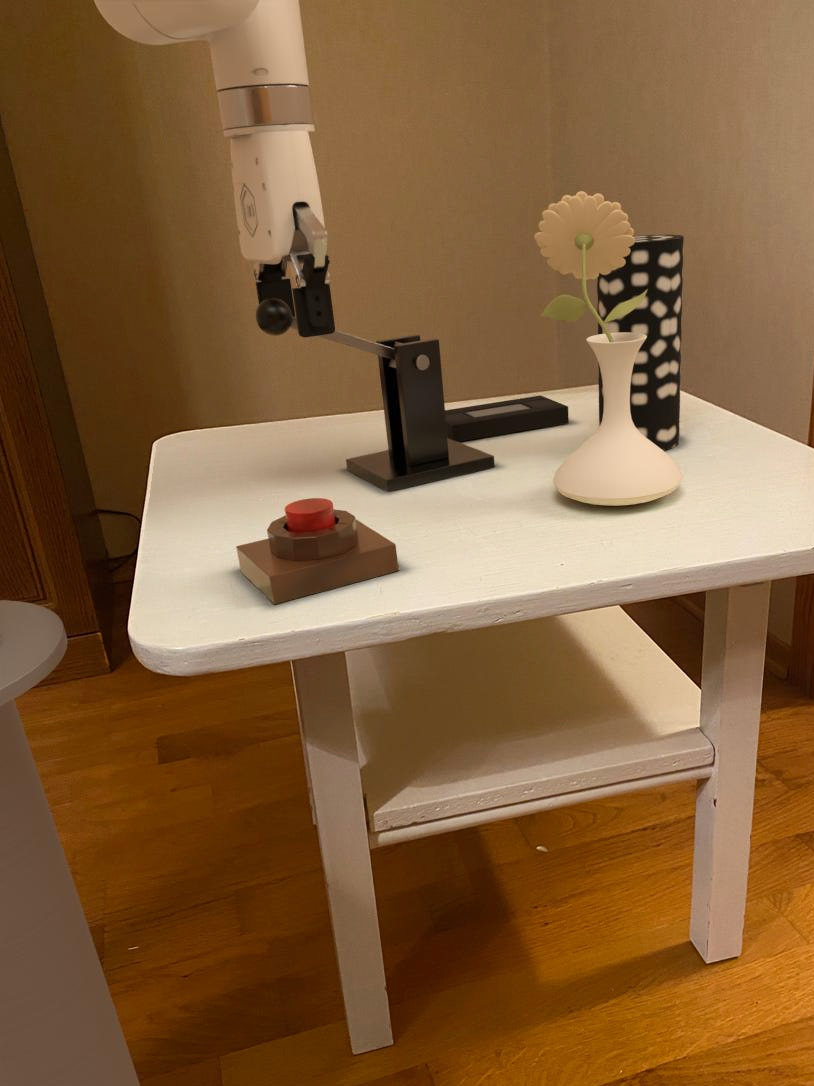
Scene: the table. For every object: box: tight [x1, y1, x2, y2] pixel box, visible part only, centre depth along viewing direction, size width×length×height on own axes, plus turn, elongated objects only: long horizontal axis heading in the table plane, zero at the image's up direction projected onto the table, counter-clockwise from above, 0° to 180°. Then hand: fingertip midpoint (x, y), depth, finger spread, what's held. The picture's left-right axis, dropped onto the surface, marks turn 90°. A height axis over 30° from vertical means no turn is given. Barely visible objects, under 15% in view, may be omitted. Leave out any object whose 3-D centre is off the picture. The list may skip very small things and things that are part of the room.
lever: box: [255, 298, 403, 368], centre depth 89 cm, size 17×3×3 cm, turn 120°
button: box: [284, 497, 336, 533], centre depth 72 cm, size 4×4×2 cm
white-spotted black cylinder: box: [596, 234, 685, 452], centre depth 97 cm, size 8×8×20 cm
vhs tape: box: [445, 395, 570, 443], centre depth 111 cm, size 8×14×2 cm, turn 112°
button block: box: [235, 508, 399, 605], centre depth 74 cm, size 10×8×4 cm
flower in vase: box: [534, 190, 684, 507], centre depth 81 cm, size 13×11×25 cm
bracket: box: [345, 334, 496, 493], centre depth 95 cm, size 12×10×13 cm
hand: (297, 329), depth 87 cm, fingers open, 9 cm apart
